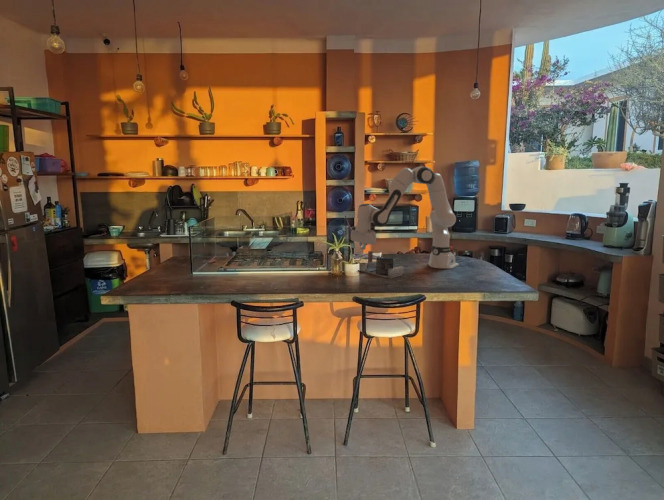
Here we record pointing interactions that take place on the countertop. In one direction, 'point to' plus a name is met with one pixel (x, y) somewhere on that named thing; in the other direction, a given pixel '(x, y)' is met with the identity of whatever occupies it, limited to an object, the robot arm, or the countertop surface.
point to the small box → (383, 265)
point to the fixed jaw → (389, 272)
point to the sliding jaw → (370, 263)
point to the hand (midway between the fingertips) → (362, 249)
